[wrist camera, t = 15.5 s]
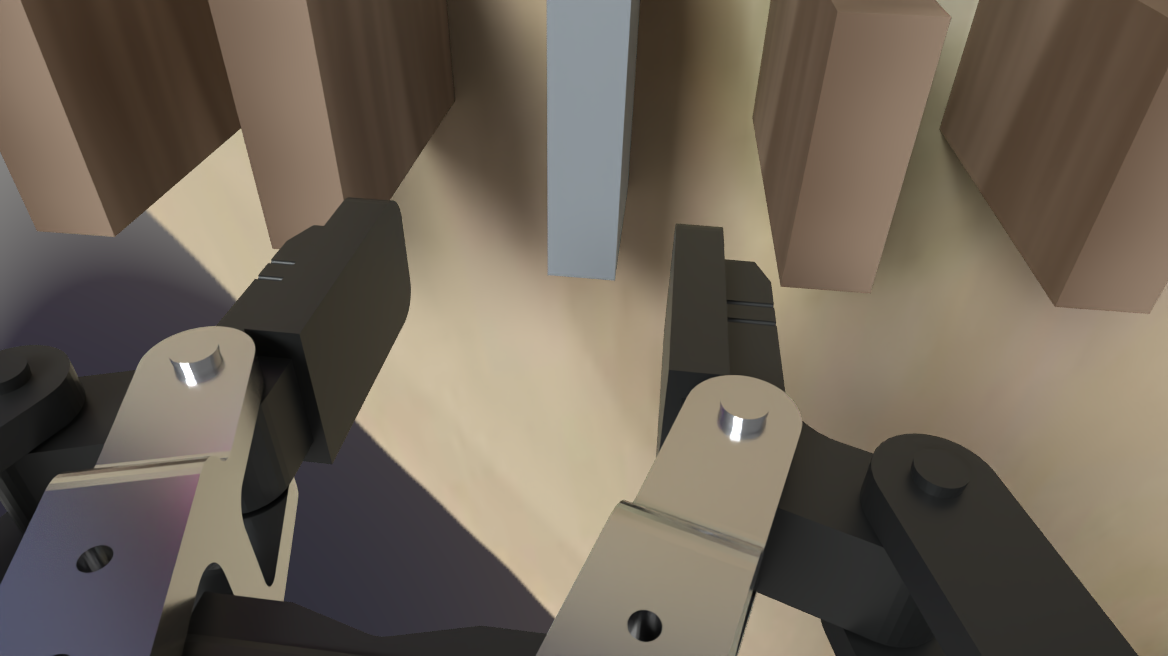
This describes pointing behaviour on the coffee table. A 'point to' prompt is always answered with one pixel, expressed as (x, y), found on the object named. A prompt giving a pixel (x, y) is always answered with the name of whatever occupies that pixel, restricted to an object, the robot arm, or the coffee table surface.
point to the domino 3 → (840, 129)
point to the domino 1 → (108, 105)
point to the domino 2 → (333, 97)
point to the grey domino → (589, 131)
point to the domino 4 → (1071, 141)
